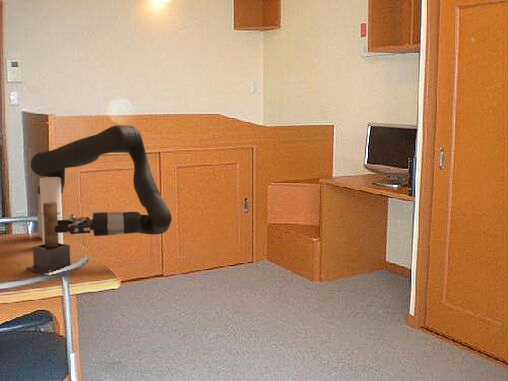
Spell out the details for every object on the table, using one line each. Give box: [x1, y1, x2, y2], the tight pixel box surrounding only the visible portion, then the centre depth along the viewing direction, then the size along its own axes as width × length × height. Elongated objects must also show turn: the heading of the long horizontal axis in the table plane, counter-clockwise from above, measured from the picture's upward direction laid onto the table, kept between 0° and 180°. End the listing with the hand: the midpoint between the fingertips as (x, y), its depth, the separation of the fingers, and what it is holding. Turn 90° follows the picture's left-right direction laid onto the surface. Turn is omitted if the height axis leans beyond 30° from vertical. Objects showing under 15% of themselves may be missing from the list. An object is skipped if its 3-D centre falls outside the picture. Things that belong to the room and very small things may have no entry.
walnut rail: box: [43, 202, 59, 249], centre depth 191 cm, size 4×4×20 cm
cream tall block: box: [39, 176, 64, 244], centre depth 219 cm, size 7×7×25 cm
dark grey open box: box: [25, 243, 73, 275], centre depth 192 cm, size 11×11×8 cm
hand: (55, 226), depth 191 cm, fingers open, 8 cm apart
